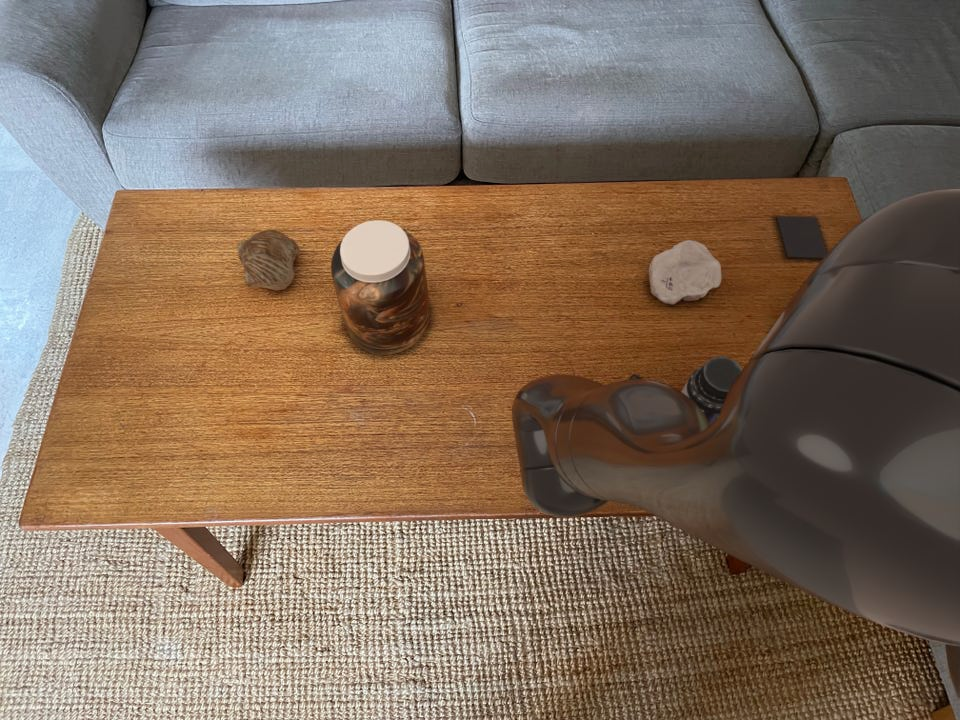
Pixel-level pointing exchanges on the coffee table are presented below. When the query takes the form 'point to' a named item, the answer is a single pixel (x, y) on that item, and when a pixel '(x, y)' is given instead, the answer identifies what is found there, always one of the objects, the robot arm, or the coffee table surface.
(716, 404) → the pill bottle
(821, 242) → the rubber mat
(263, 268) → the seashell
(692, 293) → the fossil
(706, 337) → the coffee table surface
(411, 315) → the jar
